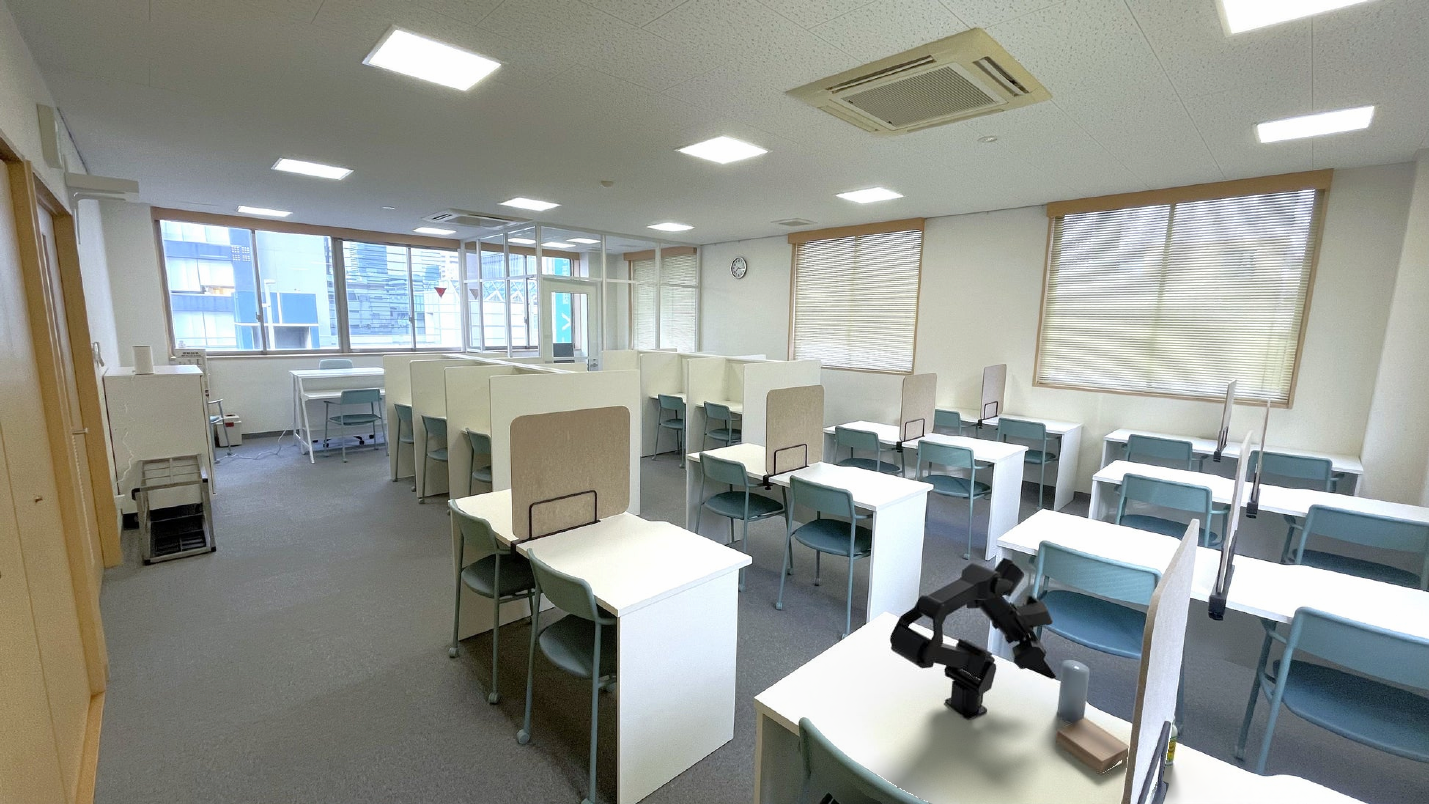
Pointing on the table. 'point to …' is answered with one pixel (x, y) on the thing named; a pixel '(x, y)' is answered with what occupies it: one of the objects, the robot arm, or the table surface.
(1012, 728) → the table surface
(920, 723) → the table surface
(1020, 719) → the table surface
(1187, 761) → the table surface
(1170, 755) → the supplement bottle
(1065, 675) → the slate bottle
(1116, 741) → the walnut base
